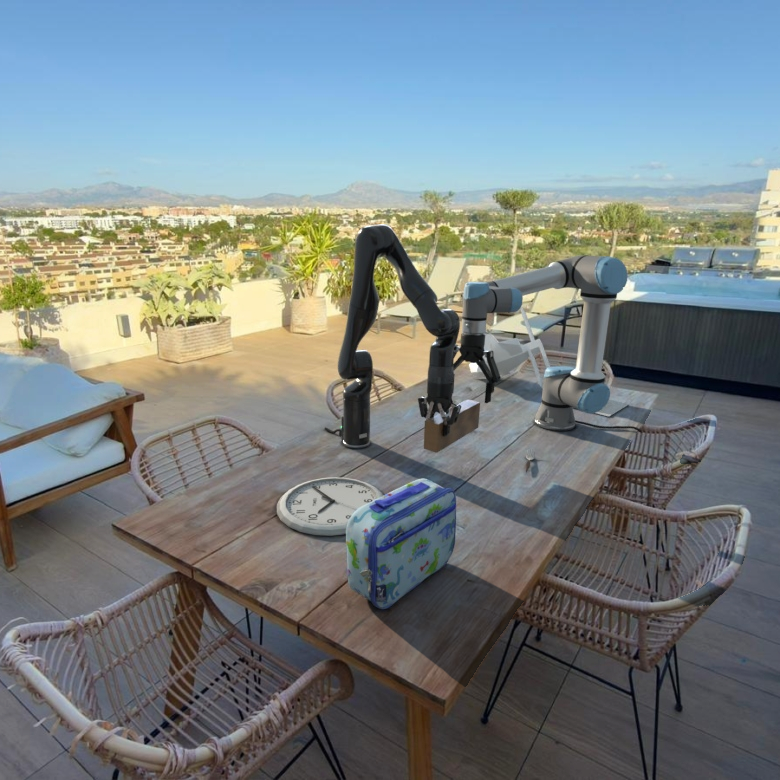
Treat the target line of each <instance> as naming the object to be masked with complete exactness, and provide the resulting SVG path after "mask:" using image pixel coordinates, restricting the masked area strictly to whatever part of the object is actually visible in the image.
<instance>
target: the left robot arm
mask: <svg viewBox="0 0 780 780" xmlns="http://www.w3.org/2000/svg"><path fill="white" fill-rule="evenodd" d="M380 258H385V259H386V260H387V261H388V262H389V263H390V264H391V265H392V266H393V268H394V270H395V273H396V275H397V279H398V283H399V286H400V289H401V291H402V293H403V294H404V296H405V297H406V299H407V300H408V301H409V302H410V304H411V305H412V306H413V308H414V309H416V312H417V313H418V316H419V318H420V320H421V323H422V324H423V326H424V328H425V329H426V331H427V332H428V333H429V334H430V335H432V336H433V337H435V340H434V342H433V343H432V344H431V345H430V347H429V355H428V356H429V357H428V368H427V379H426V381H427V382H426V394H427V395H426V396H425V395H423V396H421V397H418V398H417V402H418V408H419V413H420V417H421V418H424V419H425V421H426V420H428V419H430V418H432V417H434V416H435V414H436V413H438V414H439V413H440V415H441V418H442V419H443V423H444V425H443V436H444V437H446V436H447V435H448V434H449V433H450V425H452V424H454V423H456V422H457V419H458V416H459V413H460V410H461V405H457V404H456V403H455V402H454V401H453V394H454V392H453V380H454V381H455V376H454V374H455V370H454V368H453V364H454V363H455V357H454V348H455V345H457V342H458V337H459V334H460V330H461V329H460V327H461V321H460V316H459V315H458V313H457V312H456V311H455V310H453V309H450V308H446V309H442V310H441V309H440V307H439V306H438V304H437V302H438V295H437V293H436V292H435V291H434V290H433V289H432V287H431V286H430V285H429V284H428V282H427V281H426V280H425V278H424V277H423V276H422V275H421V274H420V272H419V270H418V269H417V268H416V266H415V265H414V263H413V261H412V260H411V258H410V256H409V255H408V252H407V251H406V249H405V248H404V246H403V244H402V242H401V241H400V239H399V237H398V236H397V234H396V232H395V231H394V230H393V229H392V227H390V226H389V225H387V224H375V225H374V224H373V225H368V226H363V227H362V228H360V230H359V231H358V232H357V235H356V237H355V244H354V259H353V261H354V263H353V264H354V265H353V274H352V283H351V289H350V296H349V302H348V307H347V315H346V322H345V330H344V334H343V339H342V342H341V347H340V349H339V354H338V358H337V371H338V375H339V378H341V379H342V380H345V381H347V380H349V381H350V380H354V381H352V382H351V383H350V384H349V385H347V386H345V387H344V389H343V391H342V406H343V407H342V411H343V416H342V417H341V419H340V420H341V421H340V422H341V426H340V428H336V429H334V430H332V429H330V428H328V427H326V426H325V427H324V430H325V431H327V432H328V433H330V434H336V433H338V436H340V437H341V443H343V446H344V447H346V448H348V449H357V450H358V449H364V448H367V447H369V446H370V445H371V392H372V388H373V387H372V386H373V373H374V363H373V357H372V355H371V353H370V352H369V351H368V350H365V349H361V350H358V348H359V345H360V343H361V342H362V340H363V339H364V338H365V336H366V335H367V334H368V333H369V332H370V330H371V328H372V327H373V326H374V324H375V322H376V321H377V320H376V319H377V318H378V317H377V316H378V312H379V306H380V296H379V295H380V294H379V292H378V289H377V286H376V283H375V278H374V276H375V268H376V263H377V261H378V260H377V259H380ZM449 408H452V410H451V411H452V414H451V417H450V410H449ZM445 412H446V413H445Z"/></svg>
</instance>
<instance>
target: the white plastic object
mask: <svg viewBox="0 0 780 780" xmlns="http://www.w3.org/2000/svg"><path fill="white" fill-rule="evenodd" d="M519 311H520V314H521V316H522V319H523V323H524V326H525V328H526V331H527V334H528V337H529V340H530V341H529V342H527V343H525V344H524V343H521V342H520V341H519V338H518V337H515V338H510V339H506V340H502V341H499V340H498V339H497V338H496V336H494V334H492V333H488V334H487V333H484V334H485V345H484V350H485V351H491V350H492V351H493V352H494V360H495V363H496V366H497V368H498V371H499V374H500V377H504V376H507V375H510V374H511V371H513V370H514V369H516V368H517V367H519V366H520V365H522V364H523V363H524V362H526V361H527V360H530V363H531V366H532V369H533V371H534V374H535V377H536V378H535V379H536V380H537V383H538V386H539V387H540V388H541V389H542V390H543V378H542V375H541V372H540V370H539V366H538V364H537V360H536V358H535V355H538V354H540V353H541V356H542V359H543V363H544V365H545V368H546V369H547V368H549V367H551V363H550V361H549V359H548V355H547V353H546V350H545V348H544V344H543V341H541V338H536V339H535V336H534V333H533V330H532V328H531V325H530V321H529V317H528V315H527V312H526V310H525V309H524V307H521V308H520V309H519ZM483 358H484V360H485V363H486V365H487V366H488V368H489V365H488V362H487V358H486V357H485V355H484V356H483ZM479 361H480V360H479ZM468 366H469V370H470V373H471V375H472V376H473V378H475V379H478V378H486V377H485V375H484V374H483V372H482V370H481V369H480V367H479V366H478V365H477V364H476V363H471V362H469V364H468ZM489 370H490V368H489ZM490 371H491V370H490Z"/></svg>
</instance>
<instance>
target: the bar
mask: <svg viewBox="0 0 780 780" xmlns="http://www.w3.org/2000/svg"><path fill="white" fill-rule="evenodd" d="M456 405H461V410H460V413H459V416H458V419H457V422H456V423H454V424H452V425H450V433H449V434H448V435H447V436H446V437H444V436H443V425H444V423H443V419H442V418H441V415H440V413H438V414H436V415H435V414H434V417H432V418H430V419H428V420H426V419H425V420H424V429H423V430H424V432H423V449H424V450H426V451H429V452H432V453H433V452H434V453H437V454H438V453H439V452H441V451H443V450H444V449H445V448H448V447H449V446H450V445H452V444H454V443H457V441H459V440H460V439H462V438H464V437H465V436H467V435H469V434H470V433H472V432H474V431H475V430H477V429H479V425H480V423H479V422H480V412H481V410H480V409H481V401H477V400H472V399H465V400H463V401H461V402H460V403H458V404H456ZM449 410H450V417H451V414H452V411H451V410H452V408H451V407H450V408H449ZM445 413H446V412H445Z"/></svg>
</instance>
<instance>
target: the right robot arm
mask: <svg viewBox="0 0 780 780" xmlns="http://www.w3.org/2000/svg"><path fill="white" fill-rule="evenodd" d="M628 275H629V274H628V269H627V267H626V265H625V264H624V262H623V261H622V260H621V259H619V258H617V257H612V256H608V255H605V256H603V255H590V254H580V255H575V256H571V257H567V258H563V259H561V260H557V261H553V262H551V263H550V264H549V265H548V266H546V267H545V266H544V267H541V268H537V269H534V270H529V271H526V272H522V273H518V274H514V275H511V276H506V277H503V278H499V279H494V280H492V281H486V282H483V281H468V282H466V283H465V284H464V288H463V294H462V313H461V315H462V316H461V329H460V330H461V333H460V342H459V343H460V345H458V344H456V345H455V348H454V358H456V356H457V354H458V353H460V355H459V357H458V358H457V359H456V361H454V363H453V368H454V371H455V370H457V369H458V368H459V366H461V364H462V363H463V362H466V363H476V364H477V365H478V366H479V367H480V369H481V370H482V372H483V374H484V375H485V377H484V378H486V381H487V382H486V383H485V393H484V404H488V403H490V402H491V401H492V394H493V393H494V392H495V385H496V384H497V383H499V382H501V381H502V376H501V375H500V374H499V371H498V368H497V366H496V363H495V360H494V352H493V351H492V350H491V351H485V350H484V345H485V334H486V332H487V319H488V314H504V313H506V314H507V313H508V314H510V313H516V312H518V311H520V308H522V306H523V300H524V297H523V296H528V295H531V294H536V293H538V292H543V291H546V290H549V289H555V290H560V289H564V288H567V289H569V288H570V289H578V290H580V294H579V297H580V298H581V299H582V301H583V306H582V307H583V308H582V315H581V324H580V331H579V332H580V333H579V340H578V347H577V355H576V356H577V357H576V363H575V367H574V366H566V365H565V366H564V365H562V366H561V365H559V366H558V365H557V366H550V367H549V368H546V369H545V370H544V375H543V379H542V381H543V389H542V392H541V402H540V405H539V407H538V410H537V411H536V413H535V416H534V424H535V425H536V426H537V427H539V428H542V429H544V430H549V431H556V432H567V431H572V430H574V429H575V428H576V424H580V425H584V426H589V427H591V428H592V427H593V428H597V429H608V430H609V429H611V430H612V429H632V430H636V431H637V432H639V433H640V434H641V433H642V434H643V431H642V429H640V428H639V427H637V426H633V425H622V426H621V425H613V426H609V425H608V426H607V425H597V424H593V423H589V422H584V421H580V420H577V419H576V418H575V417H576V416H575V413H574V409H575V410H578V411H579V412H583V413H586V414H596V412H598V411H600V410H601V409H602V408H603V407H604V406H605V405H606V404H607V402H608V400H610V397H611V390H610V388H609V386H608V385H607V384H606V383H605V379H606V375H605V373H603V371H602V368H603V361H604V355H605V348H606V341H607V333H608V326H609V320H610V312H611V304H612V303H613V302H614V301H615V300H616V299H617V297H618V294H620V293H621V292H622V291H623V290H624V288H625V287H626V285H627V283H628V277H629V276H628ZM484 355H485V357H486V358H487V362H488V365H489V368H490V370H491V371H490V370H489V368H488V366H487V365H486V363H485V360H484V358H483V356H484ZM479 360H480V361H479ZM455 375H456V374H455V373H454V377H455ZM454 390H455V379H454V380H453V393H454V392H455V391H454Z"/></svg>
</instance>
